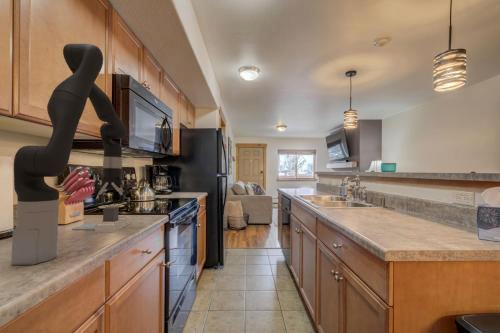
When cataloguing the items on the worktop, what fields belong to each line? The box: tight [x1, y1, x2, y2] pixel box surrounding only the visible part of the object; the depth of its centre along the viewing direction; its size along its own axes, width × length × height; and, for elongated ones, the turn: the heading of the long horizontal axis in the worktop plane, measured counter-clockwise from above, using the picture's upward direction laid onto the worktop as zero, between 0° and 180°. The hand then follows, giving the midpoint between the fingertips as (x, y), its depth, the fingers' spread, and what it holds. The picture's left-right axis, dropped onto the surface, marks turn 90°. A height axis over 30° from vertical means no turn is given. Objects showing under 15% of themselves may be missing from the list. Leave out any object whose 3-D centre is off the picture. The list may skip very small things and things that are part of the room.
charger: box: [102, 205, 120, 222], centre depth 108 cm, size 4×4×7 cm
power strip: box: [94, 215, 132, 233], centre depth 111 cm, size 18×7×4 cm, turn 3°
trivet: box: [72, 223, 98, 231], centre depth 111 cm, size 10×10×1 cm
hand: (111, 203), depth 108 cm, fingers open, 8 cm apart
